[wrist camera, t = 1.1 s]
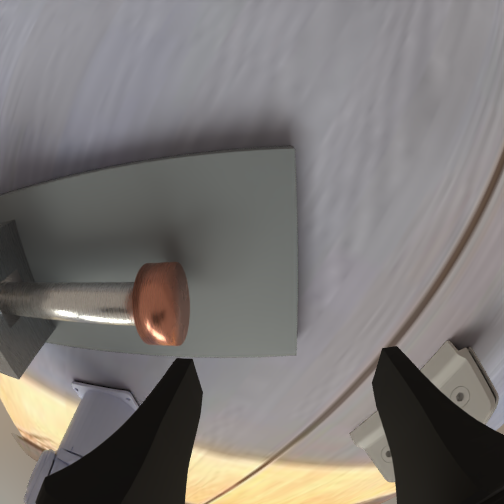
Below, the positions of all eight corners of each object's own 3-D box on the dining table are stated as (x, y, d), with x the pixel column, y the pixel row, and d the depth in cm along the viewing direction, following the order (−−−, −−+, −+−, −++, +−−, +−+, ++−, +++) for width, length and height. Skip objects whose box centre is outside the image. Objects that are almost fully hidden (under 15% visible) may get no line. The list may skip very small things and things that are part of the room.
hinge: (449, 337, 21) (508, 414, 13) (464, 336, 24) (516, 402, 16) (347, 435, 28) (380, 501, 20) (371, 427, 30) (404, 486, 22)
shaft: (193, 312, 18) (177, 363, 14) (31, 306, 19) (2, 338, 15) (180, 247, 16) (155, 291, 12) (12, 258, 17) (-23, 287, 13)
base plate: (294, 341, 22) (296, 355, 20) (32, 329, 23) (25, 338, 22) (291, 146, 16) (294, 148, 14) (-16, 200, 17) (-27, 205, 16)
